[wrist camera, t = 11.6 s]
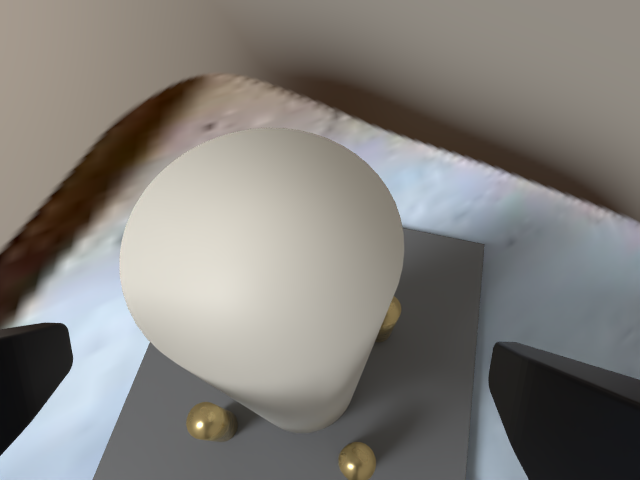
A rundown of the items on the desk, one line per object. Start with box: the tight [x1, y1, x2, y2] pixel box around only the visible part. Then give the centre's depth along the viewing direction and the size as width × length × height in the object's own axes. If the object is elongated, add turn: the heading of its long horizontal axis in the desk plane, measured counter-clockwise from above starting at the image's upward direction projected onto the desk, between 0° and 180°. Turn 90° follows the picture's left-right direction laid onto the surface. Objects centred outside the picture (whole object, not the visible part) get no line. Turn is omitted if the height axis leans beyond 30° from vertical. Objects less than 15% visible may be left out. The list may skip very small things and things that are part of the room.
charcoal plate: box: [93, 228, 484, 480], centre depth 17 cm, size 16×14×4 cm
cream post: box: [120, 128, 404, 433], centre depth 13 cm, size 4×4×13 cm
